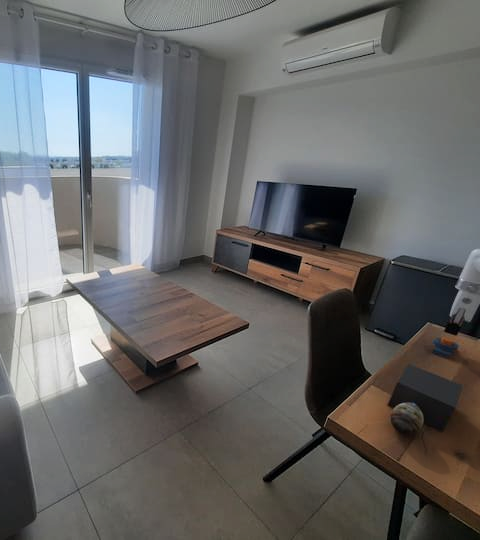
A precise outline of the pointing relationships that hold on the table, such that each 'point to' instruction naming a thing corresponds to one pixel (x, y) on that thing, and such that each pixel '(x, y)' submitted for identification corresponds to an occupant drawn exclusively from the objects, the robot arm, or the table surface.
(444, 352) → the block
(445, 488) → the table surface
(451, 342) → the button
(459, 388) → the dark grey box
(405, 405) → the seashell
